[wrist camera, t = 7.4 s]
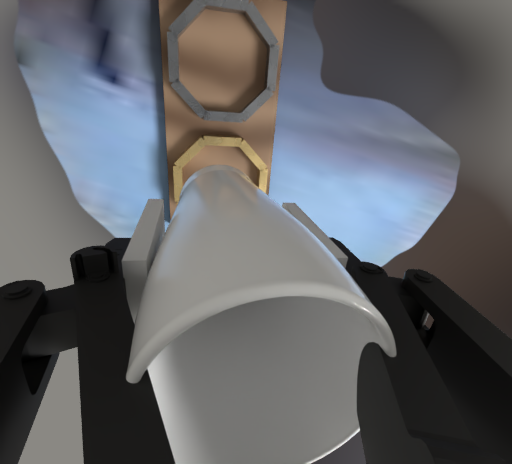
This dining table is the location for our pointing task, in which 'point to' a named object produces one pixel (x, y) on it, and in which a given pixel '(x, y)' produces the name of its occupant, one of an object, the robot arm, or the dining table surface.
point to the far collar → (217, 141)
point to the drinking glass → (250, 330)
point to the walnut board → (220, 86)
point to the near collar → (239, 3)
